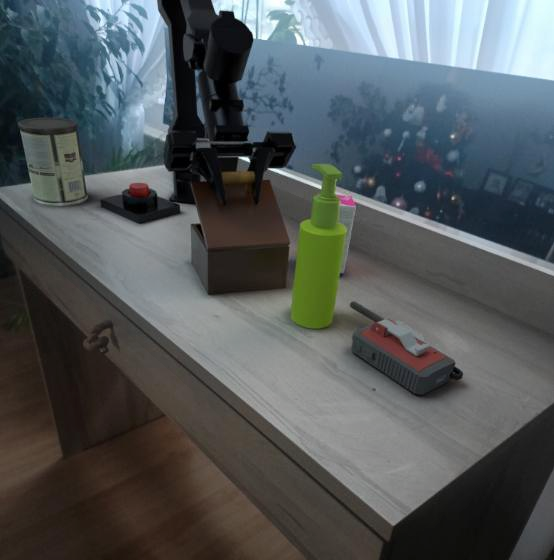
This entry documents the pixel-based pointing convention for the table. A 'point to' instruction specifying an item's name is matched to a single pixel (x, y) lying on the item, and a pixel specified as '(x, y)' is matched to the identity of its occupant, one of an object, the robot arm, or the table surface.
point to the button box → (140, 206)
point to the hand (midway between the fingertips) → (241, 203)
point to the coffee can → (54, 160)
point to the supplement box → (346, 223)
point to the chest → (238, 266)
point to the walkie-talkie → (402, 353)
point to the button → (139, 189)
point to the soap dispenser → (319, 256)
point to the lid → (239, 214)
